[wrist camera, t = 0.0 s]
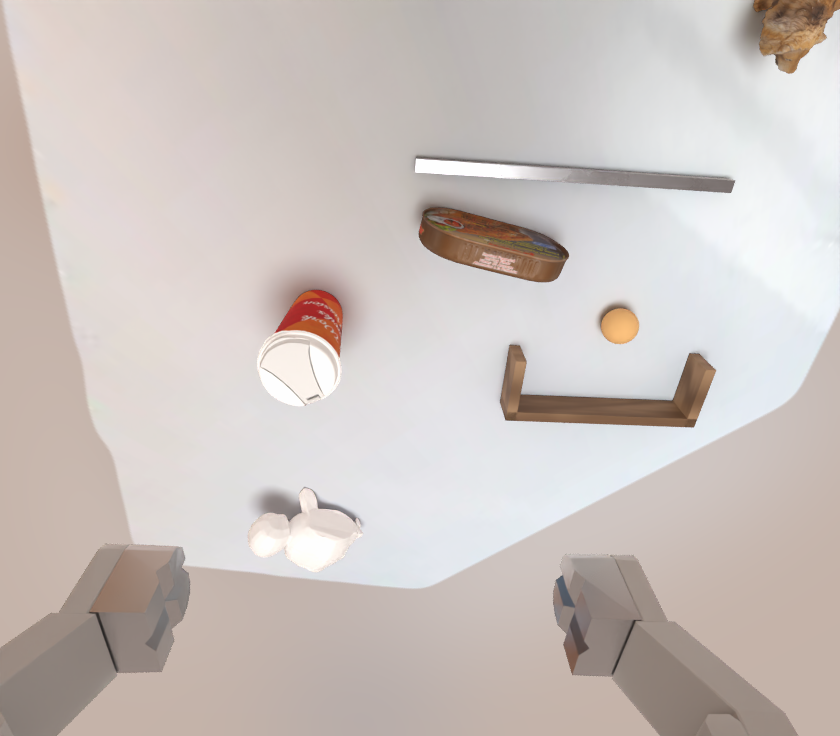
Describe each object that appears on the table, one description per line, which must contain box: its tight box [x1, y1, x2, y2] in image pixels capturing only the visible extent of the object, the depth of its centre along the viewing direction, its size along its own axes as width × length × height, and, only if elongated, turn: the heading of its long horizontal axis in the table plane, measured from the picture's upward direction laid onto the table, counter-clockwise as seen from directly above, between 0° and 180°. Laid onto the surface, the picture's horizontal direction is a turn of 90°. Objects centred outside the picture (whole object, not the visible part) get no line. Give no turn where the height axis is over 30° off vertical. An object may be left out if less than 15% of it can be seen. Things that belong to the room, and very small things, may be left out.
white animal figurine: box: [248, 488, 363, 572], centre depth 72 cm, size 9×8×15 cm
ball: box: [601, 308, 639, 344], centre depth 60 cm, size 4×4×4 cm
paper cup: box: [257, 290, 343, 406], centre depth 54 cm, size 8×8×14 cm
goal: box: [500, 345, 716, 427], centre depth 64 cm, size 8×23×4 cm, turn 86°
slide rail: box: [415, 157, 735, 193], centre depth 53 cm, size 1×32×1 cm, turn 86°
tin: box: [419, 208, 569, 282], centre depth 53 cm, size 15×3×8 cm, turn 75°
